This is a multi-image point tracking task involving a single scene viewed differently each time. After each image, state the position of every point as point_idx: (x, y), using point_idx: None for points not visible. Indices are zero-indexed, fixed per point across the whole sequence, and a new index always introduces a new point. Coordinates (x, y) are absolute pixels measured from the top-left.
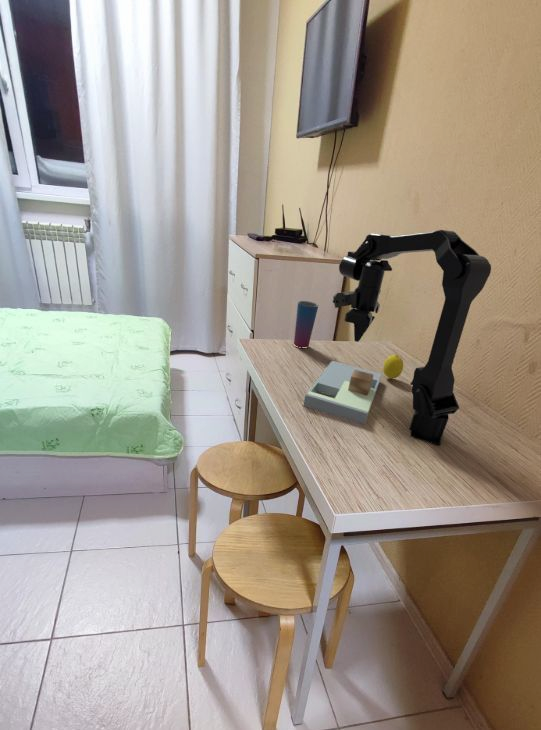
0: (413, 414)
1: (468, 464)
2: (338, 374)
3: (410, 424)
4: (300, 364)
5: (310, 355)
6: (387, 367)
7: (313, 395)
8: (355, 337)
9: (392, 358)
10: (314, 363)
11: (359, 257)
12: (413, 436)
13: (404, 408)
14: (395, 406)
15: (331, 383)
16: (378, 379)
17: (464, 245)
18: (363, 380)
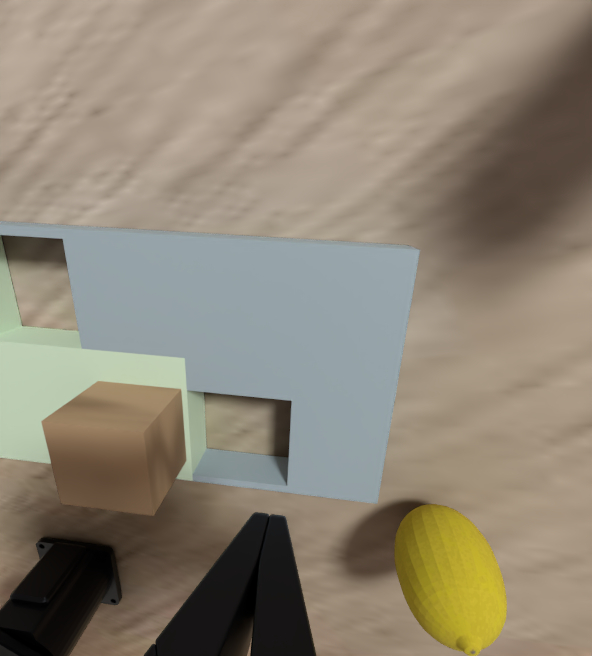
0: (47, 584)
1: None
2: (235, 319)
3: (64, 551)
4: (365, 44)
5: (580, 58)
6: (410, 547)
7: None
8: (230, 553)
9: (439, 613)
10: (434, 133)
11: None
12: (38, 544)
13: (196, 536)
14: (191, 513)
15: (105, 304)
16: (302, 490)
17: None
18: (57, 472)
